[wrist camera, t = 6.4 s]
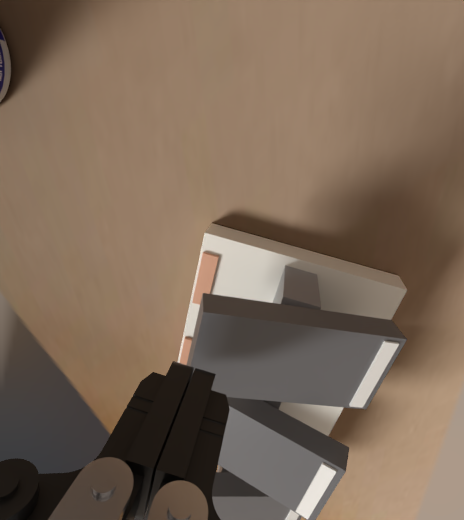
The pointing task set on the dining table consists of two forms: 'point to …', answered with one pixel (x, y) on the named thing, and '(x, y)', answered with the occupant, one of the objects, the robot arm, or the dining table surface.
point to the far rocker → (245, 501)
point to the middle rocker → (281, 456)
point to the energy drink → (4, 66)
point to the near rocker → (292, 352)
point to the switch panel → (333, 289)
